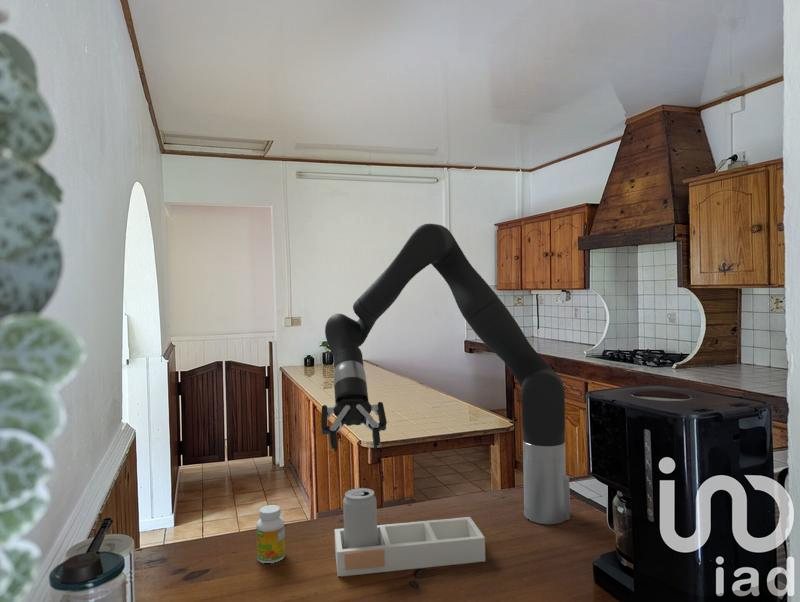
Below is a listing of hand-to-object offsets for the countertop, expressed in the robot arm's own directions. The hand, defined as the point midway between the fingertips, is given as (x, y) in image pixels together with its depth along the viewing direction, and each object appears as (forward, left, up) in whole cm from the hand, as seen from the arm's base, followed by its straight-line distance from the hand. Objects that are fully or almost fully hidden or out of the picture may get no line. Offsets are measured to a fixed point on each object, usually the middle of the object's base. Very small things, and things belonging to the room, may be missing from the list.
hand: (355, 448), depth 118 cm
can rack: (-9, +12, -19) cm, 24 cm away
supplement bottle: (+18, +7, -19) cm, 27 cm away
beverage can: (0, +11, -18) cm, 21 cm away
